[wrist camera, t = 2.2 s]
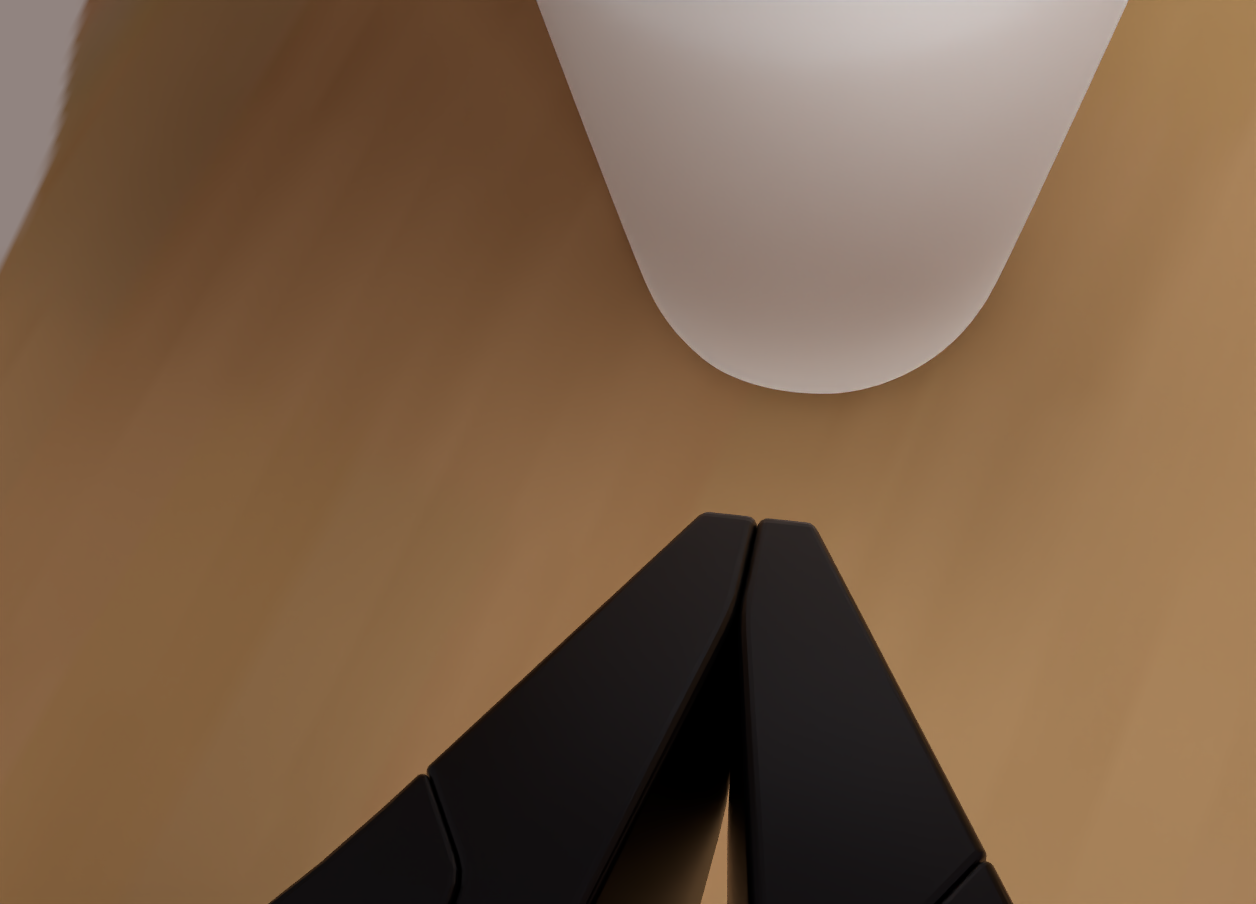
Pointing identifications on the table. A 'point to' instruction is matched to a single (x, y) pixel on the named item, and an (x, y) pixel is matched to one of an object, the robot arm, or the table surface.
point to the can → (825, 164)
